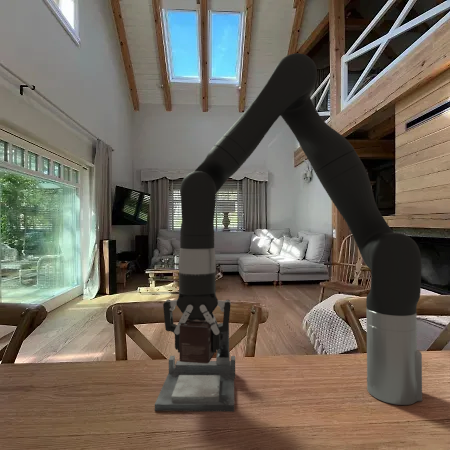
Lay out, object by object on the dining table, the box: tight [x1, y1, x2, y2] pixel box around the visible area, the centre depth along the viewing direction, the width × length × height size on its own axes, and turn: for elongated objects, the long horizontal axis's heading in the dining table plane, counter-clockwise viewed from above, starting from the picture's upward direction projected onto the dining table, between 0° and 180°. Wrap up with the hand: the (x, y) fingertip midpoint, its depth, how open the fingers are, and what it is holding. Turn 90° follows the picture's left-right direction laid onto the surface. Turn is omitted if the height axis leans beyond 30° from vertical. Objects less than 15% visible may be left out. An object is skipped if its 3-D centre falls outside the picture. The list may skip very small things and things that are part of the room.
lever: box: [215, 322, 231, 365], centre depth 75 cm, size 3×3×9 cm
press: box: [154, 355, 236, 413], centre depth 69 cm, size 15×16×4 cm
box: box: [179, 319, 215, 364], centre depth 66 cm, size 6×6×7 cm
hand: (197, 351), depth 66 cm, fingers closed on box, 6 cm apart
